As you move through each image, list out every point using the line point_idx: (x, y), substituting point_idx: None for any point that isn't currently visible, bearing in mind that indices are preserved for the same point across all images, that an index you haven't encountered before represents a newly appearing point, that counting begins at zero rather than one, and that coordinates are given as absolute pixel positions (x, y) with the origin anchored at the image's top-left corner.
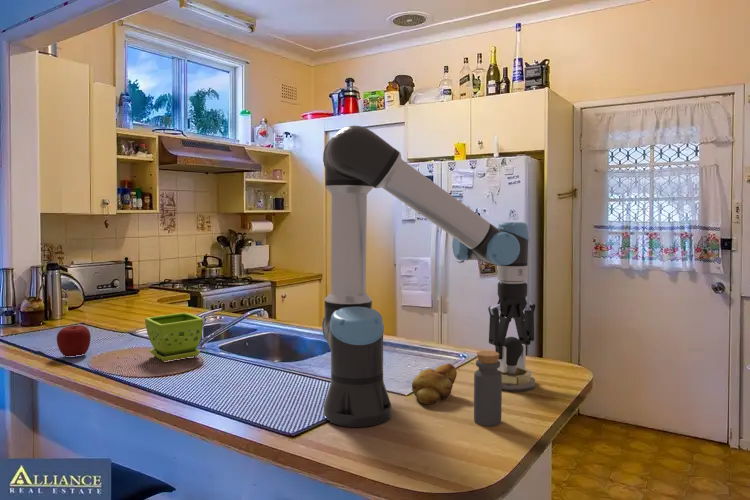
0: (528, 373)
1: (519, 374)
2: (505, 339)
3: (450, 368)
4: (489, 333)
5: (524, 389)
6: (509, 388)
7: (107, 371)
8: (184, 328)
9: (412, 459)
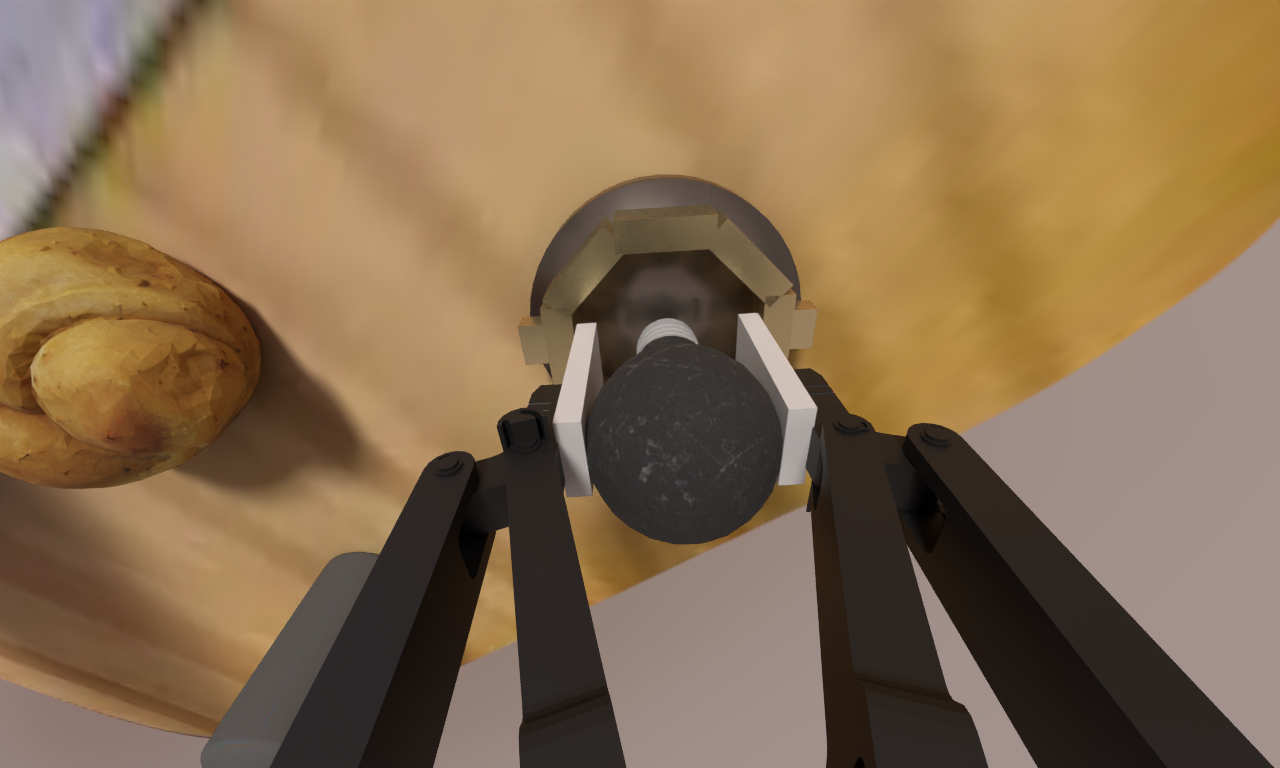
0: None
1: (753, 292)
2: (623, 486)
3: (139, 454)
4: (389, 548)
5: None
6: None
7: None
8: None
9: (126, 665)
